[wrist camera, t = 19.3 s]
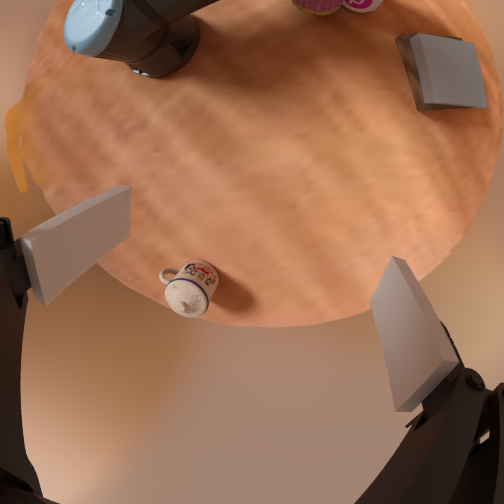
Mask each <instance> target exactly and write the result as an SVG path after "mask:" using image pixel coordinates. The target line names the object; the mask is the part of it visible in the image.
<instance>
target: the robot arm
mask: <svg viewBox="0 0 504 504" xmlns="http://www.w3.org/2000/svg"><path fill="white" fill-rule="evenodd" d="M217 1H219V0H75V1H74V2H73V4H72V6H71V8H70V10H69V12H68V15H67V17H66V20H65V24H64V40H65V43H66V45H67V47H68V48H69V49H70V50H71V51H73V52H75V53H79V54H83V55H85V56H87V57H96V58H103V59H109V60H115V61H120V62H124V63H125V64H126V65H127V66H128V67H129V68H130V69H131V70H133V71H134V72H135V73H137V74H139V75H142V76H146V77H152V78H158V77H164V76H167V75H170V74H172V73H174V72H176V71H177V70H179V69H180V68H182V67H183V66H184V65H185V64H186V63H187V62H188V61H189V60H190V59H191V57H192V56H193V54H194V52H195V51H196V48H197V46H198V42H199V28H198V25H197V23H196V22H195V20H194V19H193V18H192V17H190V16H189V14H191V13H193V12H195V11H197V10H199V9H201V8H204V7H206V6H208V5H210V4H212V3H215V2H217ZM130 200H131V187H127V186H122V185H118V186H116V187H114V188H111V189H109V190H107V191H105V192H102V193H100V194H98V195H96V196H94V197H92V198H90V199H88V200H85V201H83V202H81V203H79V204H77V205H75V206H73V207H71V208H69V209H67V210H66V211H64V212H62V213H60V214H58V215H56V216H54V217H53V218H51V219H49V220H47V221H45V222H43V223H42V224H40V225H38V226H36V227H35V228H33V229H31V230H30V231H28V232H26V233H25V234H23V235H21V236H20V238H19V239H18V240H16V241H14V239H13V234H12V228H11V222H10V219H9V218H6V217H1V218H0V504H59V503H56V502H53V501H51V500H48V499H46V498H43V495H42V491H41V488H40V484H39V480H38V477H37V474H36V472H35V469H34V467H33V466H32V464H31V462H30V461H29V459H28V457H27V454H26V450H25V444H24V436H23V427H22V417H21V416H22V415H21V395H20V394H21V393H20V377H21V376H20V374H21V353H22V341H23V331H24V322H25V315H26V309H27V303H28V294H27V290H28V289H29V288H30V287H31V288H32V291H33V294H34V298H35V299H36V300H37V301H39V302H40V303H42V304H44V305H45V306H47V305H48V304H49V303H50V302H51V301H52V300H54V299H55V298H56V297H57V296H58V295H59V294H60V293H61V292H62V291H64V290H65V289H66V288H67V287H68V286H69V285H70V284H71V283H72V282H74V281H75V280H76V279H77V278H78V277H79V276H81V275H82V274H83V273H84V272H85V271H87V270H88V269H89V268H90V267H91V266H92V265H94V264H95V263H96V262H97V261H99V260H100V259H101V258H102V257H104V256H105V255H106V254H107V253H109V252H110V251H111V250H112V249H114V248H115V247H116V246H117V245H119V244H120V243H121V242H123V241H124V240H125V239H127V238H128V237H129V236H130ZM369 302H370V305H371V309H372V312H373V316H374V319H375V323H376V327H377V330H378V334H379V338H380V342H381V346H382V350H383V354H384V359H385V363H386V367H387V372H388V377H389V382H390V387H391V392H392V397H393V402H394V408H395V412H412V411H413V410H414V409H415V408H416V407H417V406H418V405H419V404H420V403H421V402H422V406H423V411H422V412H421V413H420V414H419V415H417V416H416V417H415V418H414V419H413V420H412V421H410V422H409V423H408V424H407V425H406V426H405V427H406V428H408V427H409V426H410V425H412V426H411V428H410V430H409V431H408V433H407V434H406V436H405V437H404V439H403V441H402V442H401V444H400V445H399V447H398V449H397V450H396V451H395V453H394V454H393V456H392V457H391V458H390V460H389V461H388V463H387V464H386V465H385V467H384V468H383V470H382V471H381V472H380V473H379V475H378V476H377V477H376V479H375V480H374V481H373V482H372V484H371V485H370V486H369V487H368V489H367V490H366V491H365V492H364V493H363V494H362V495H361V497H360V498H359V499H358V500H357V501H356V502H355V503H354V504H504V383H500V384H499V385H498V386H497V387H496V388H495V389H494V390H493V391H491V390H488V389H486V388H485V384H484V381H483V379H482V378H481V376H480V375H479V374H478V373H477V372H476V371H474V370H473V369H470V368H465V367H464V364H463V362H462V360H461V358H460V355H459V353H458V351H457V349H456V347H455V345H454V343H453V341H452V338H450V334H449V332H448V330H447V328H446V327H445V326H444V324H443V323H442V322H441V321H440V320H439V319H438V317H437V315H436V313H435V311H434V309H433V307H432V305H431V304H430V302H429V300H428V298H427V296H426V295H425V293H424V291H423V289H422V288H421V286H420V284H419V283H418V281H417V279H416V278H415V276H414V274H413V273H412V271H411V269H410V268H409V266H408V265H407V263H406V261H405V260H403V259H400V258H397V257H394V256H392V257H391V259H390V261H389V263H388V265H387V267H386V269H385V272H384V274H383V276H382V278H381V280H380V282H379V284H378V286H377V288H376V290H375V292H374V294H373V296H372V298H371V300H370V301H369ZM489 431H490V433H489V434H490V435H489V438H488V439H487V440H485V441H484V442H483V443H481V444H480V438H481V437H482V436H484V435H485V434H486V433H487V432H489Z"/></svg>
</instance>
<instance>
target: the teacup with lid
mask: <svg viewBox="0 0 504 504" xmlns="http://www.w3.org/2000/svg"><path fill="white" fill-rule="evenodd" d="M166 273H172V274H175V275H176V276H175V278H174V279H173V280H172V281H170V280H168V279H167V278H165V277H164V274H166ZM159 278H160V280H161V281H162V282H163V283H164V284H166V285H167V287H166V291H165V296H166V300H167V302H168V304H169V306H170V307H171V308H172V309H173V310H174V311H175V312H177V313H178V314H180V315H182V316H185V317H190V318H191V317H192V318H193V317H198V316H201V315H202V314H204V313H205V312H206V310H207V308H208V305H209V302H210V300H211V298H212V296H213V294H214V292H215V290H216V288H217V286H218V282H219V278H218V274H217V272H216V270H215V269H214V268H213V267H212V266H211V265H210V264H209V263H207V262H205V261H202V260H191V261H188V262H187V263H186V264H185V265H184V266H183V267H182V269H181V270H180V271H179V270H177V269H174V268H165V269H163V270H162V271H161V272H160V275H159Z"/></svg>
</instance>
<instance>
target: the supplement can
mask: <svg viewBox="0 0 504 504" xmlns="http://www.w3.org/2000/svg"><path fill="white" fill-rule="evenodd" d="M383 1H384V0H342V4H343V5H344V6H345V7H347V8H348V9H350V10H352V11H356V12H361V13H366V12H370V11H374V10H376V9H377V8H378V7H379V6H380V5H381V3H382V2H383Z"/></svg>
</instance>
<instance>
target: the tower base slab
mask: <svg viewBox="0 0 504 504" xmlns="http://www.w3.org/2000/svg"><path fill="white" fill-rule="evenodd" d="M413 36H415V35H400V36H399V37H398V38H397V39H395V42H396V44H397V47H398V49H399V52H400V55H401V57H402V60H403V63H404V66H405V69H406V72H407V75H408V78H409V81H410V85H411V88H412V92H413V95H414V99H415V103H416V106H417V110H418V111H420V110H434V109H451V108H473V107H465V106H456V105H444V104H428V103H424V97H423V92H422V87H421V82H420V77H419V72H418V68H417V64H416V60H415V56H414V52H413V49H412V45H411V42H410V38H412V37H413ZM440 37H446V36H440ZM446 38H451V39H455V40H460V41H463V40H462V38H456V37H446Z"/></svg>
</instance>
